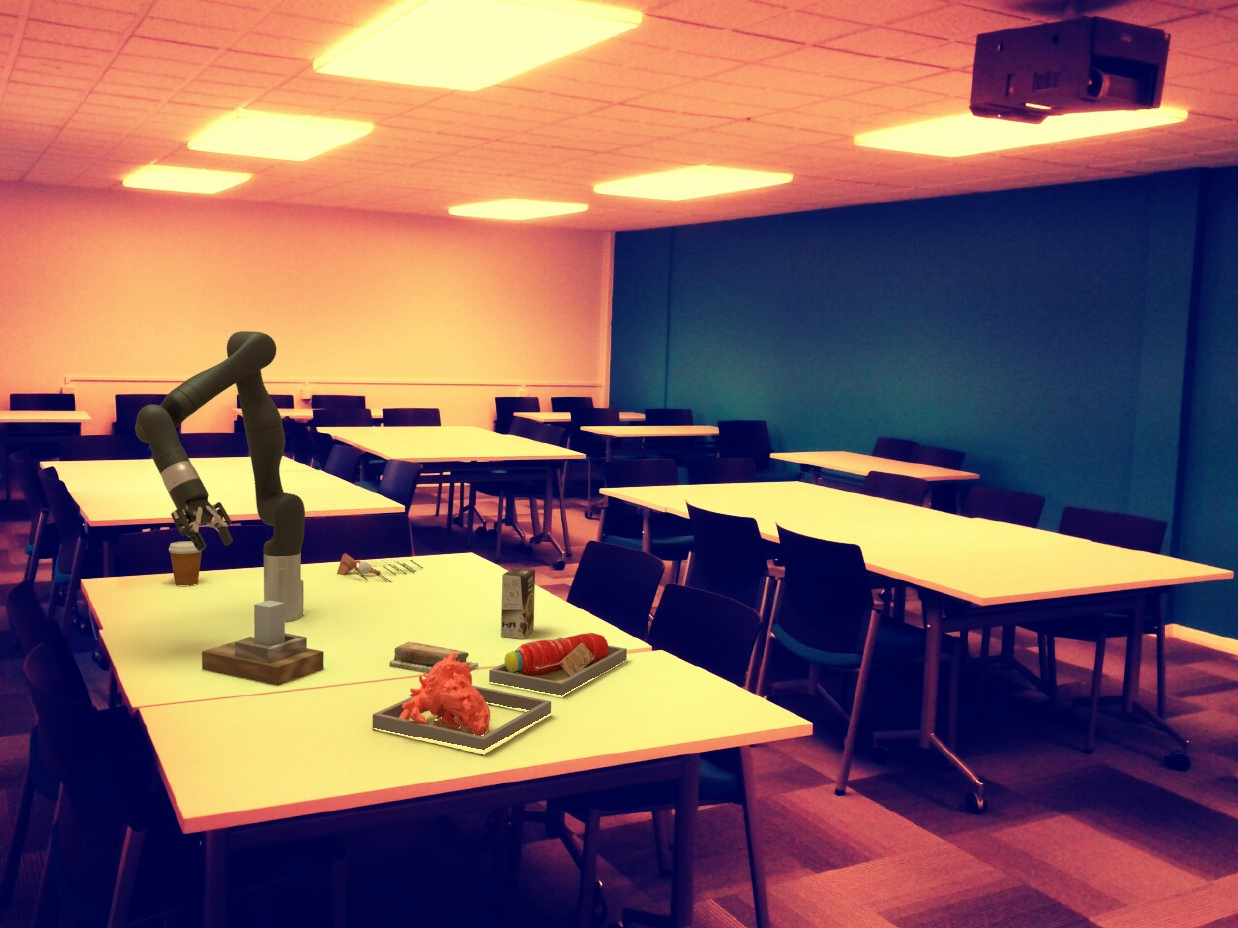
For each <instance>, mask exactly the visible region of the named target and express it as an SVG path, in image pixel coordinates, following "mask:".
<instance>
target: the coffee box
mask: <svg viewBox="0 0 1238 928" xmlns="http://www.w3.org/2000/svg"><path fill="white" fill-rule="evenodd" d="M501 576H502V579H501V581H502V583H501V618H500V620H501V621H500V637H501V638H507V639H517V638H519V640H525V639H526V638H527V637H528V636H529V635H530V634H531V633H532V632H533V631H535V590H536V589H535V586H536V569H532V568H531V569H530V568H528V569H527V568H511V569H509V570H508V571H506V572H505V573H504V574H503V573H502V575H501ZM527 635H528V636H527ZM526 636H527V637H526Z"/></svg>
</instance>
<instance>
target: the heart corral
mask: <svg viewBox="0 0 1238 928" xmlns="http://www.w3.org/2000/svg"><path fill="white" fill-rule="evenodd" d="M472 688H476V690H478V691H479V693H480V694H481V695H482V696H483V699H484V701H485V702H488V703H494V704H499V705H503V706H507V707H512V708H521V709H526V710H529V711H527V712H523V713H522V714H520V715H518V716H516V717H515V718H514V719H511V720H509V721H507V722H506V723H504V724H502V725H501V726H499V727H496V728H495V729H493V730H491V731H490V732H487V733H486V734H485V735H484V736H477V735H474V733H467V732H464V731H460V730H459V731H458V730H454V729H450V728H446V727H441V726H438V725H433V724H429V723H428V724H424V723H418V722H414V721H413V720H410V719H408V720H406V719H402V718H399V717H400V715H401V713H402V712H403V711H404V710H405V709H403V708H402V705H403V704H404V703H407V702H408V701H410V700H411V699H412V698H413V697H411V696H409V697H407V698H406V699H403V700H401V701H399V702H397V703H395V704H392V705H389V706H388V707H386V708H383V709H382V710H379V711H377V712H374V713H373V714H372V729H373V728H377V729H381V730H386V731H390V732H395V733H400V734H404V735H408V736H413V737H422V738H428V739H433V740H437V741H442V742H447V743H451V744H457V745H462V746H467V747H471V748H476V749H482V750H485V749H486V748H488V747H490V746H491V745H493V744H495V743H497V742H498V741H500V740H502V739H504V738H505V737H509V736H510V735H512V734H514V733H515V732H517V731H519V730H520V729H522V728H524V727H526V726H528V725H530V724H532V723H533V722H535V721H538V720H539V719H541V718H543V717H544V716H547V715H548V714H550V713H551V714H552V701H550V700H548V699H546V700H545V699H542V698H536V697H531V696H528V695H527V696H526V695H522V694H517V693H512V692H508V691H507V692H506V691H501V690H497V689H491V688H487V687H482V686H478V685H477V686H476V685H472Z"/></svg>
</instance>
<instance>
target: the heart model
mask: <svg viewBox="0 0 1238 928" xmlns="http://www.w3.org/2000/svg"><path fill="white" fill-rule="evenodd" d="M455 658H456V653H454V652H452V653H451V654H450V655H449V657H448V658H446V657H445V658H444V659H443V661H440V662H438V663H436V664H435V665H434V666H433V667H432V669H431V671H430V672H429V674H428V673H426V672H424V673H423V674H419V677H418V680H419V683H420V684H421V686H420V687H419V688H410V694H409V697H413V698H412V699H411V700H410V701H408V702H407V703H404V704H403V705H402V708H403V709H405V710H404V711H403V712H402V713H401V715H400V717H399V718H402V719H406V720H410V719H411V721H414V722H418V723H424V724H428V725H429V723H428V721H427V720H426V716H424V715H422V714H423V713H426V712H429V713H430V714H431V715H433V716H434V717H435V716H436V717H435V718H434V720H435V719H438V718H439V719H441V718H440V717H442V719H441V720H440V721H441V723H442V724H444V725H446V726H449V727H451V728H455V729H458V728H459V727H460V726H461V725H462V726H463V727H465V728H467V729H468V730H469V731H470V732H473V735H474V734H475V735H477V736H481V735H483V734H485V733H486V732H487V733H488V731H489V729H490V721H491V711H490V710H491V709H490V707H489V705H487V703H486V702H485V701H484V699H483V696H482V695H481V694H480V693H479V691H478V690H476V688H472V686H473V677H472V673H471V672H472V670H471V668H470V667H469V665H468V663H466V662H464V663H460V662H458V661H456V660H455ZM423 677H424V678H423ZM455 718H456V719H457V720H458V721H456V720H455ZM439 719H438V720H439ZM487 733H486V734H487ZM486 734H485V735H486Z"/></svg>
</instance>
